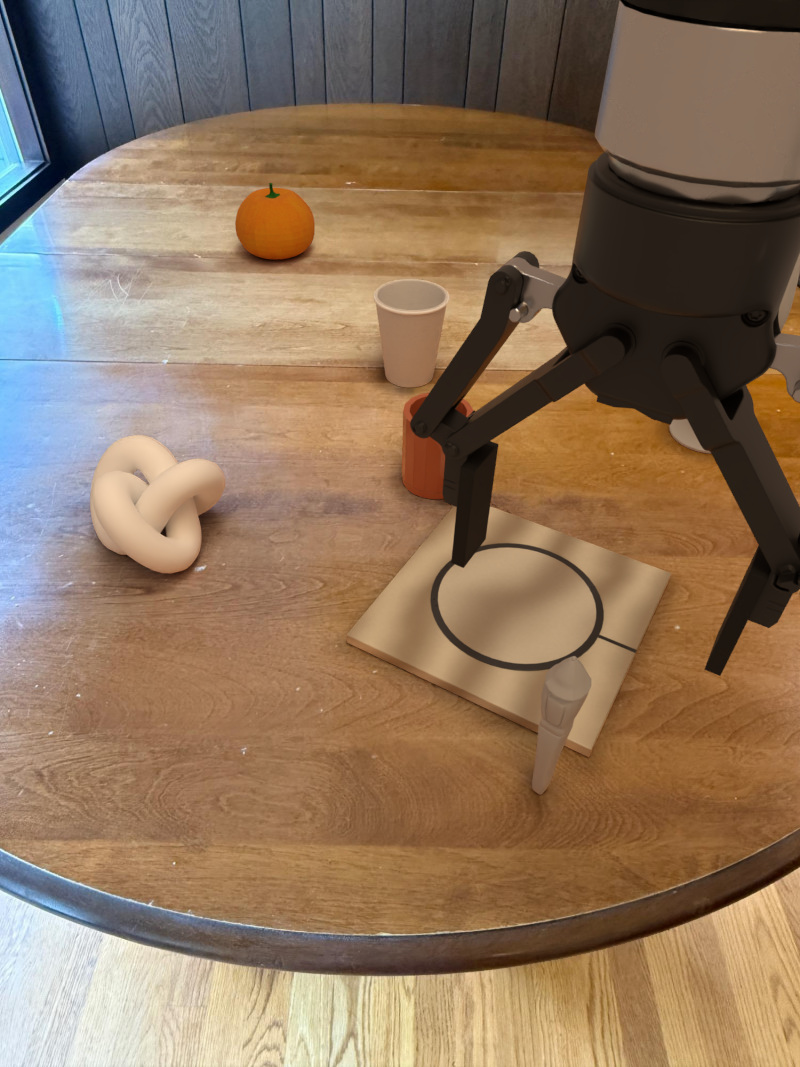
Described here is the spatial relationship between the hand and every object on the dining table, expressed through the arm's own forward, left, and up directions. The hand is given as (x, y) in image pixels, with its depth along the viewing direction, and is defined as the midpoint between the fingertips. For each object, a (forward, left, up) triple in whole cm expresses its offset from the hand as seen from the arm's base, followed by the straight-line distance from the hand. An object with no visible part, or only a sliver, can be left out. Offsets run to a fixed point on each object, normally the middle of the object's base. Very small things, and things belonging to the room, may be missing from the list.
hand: (586, 599), depth 40 cm
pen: (0, 0, -18) cm, 18 cm away
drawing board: (+8, -14, -18) cm, 24 cm away
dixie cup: (+34, -42, -18) cm, 57 cm away
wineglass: (+1, -48, -18) cm, 51 cm away
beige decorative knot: (+38, -6, -18) cm, 42 cm away
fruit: (+69, -63, -18) cm, 95 cm away
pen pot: (+22, -26, -18) cm, 38 cm away
